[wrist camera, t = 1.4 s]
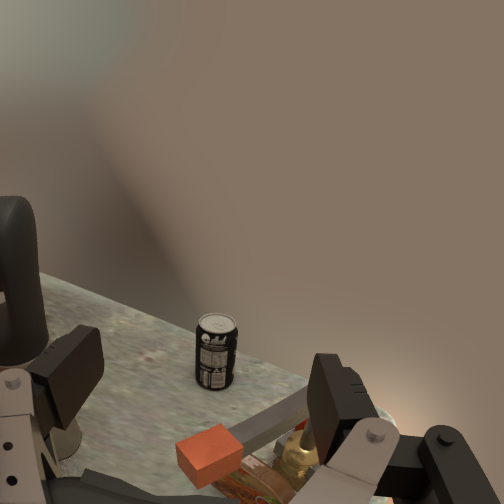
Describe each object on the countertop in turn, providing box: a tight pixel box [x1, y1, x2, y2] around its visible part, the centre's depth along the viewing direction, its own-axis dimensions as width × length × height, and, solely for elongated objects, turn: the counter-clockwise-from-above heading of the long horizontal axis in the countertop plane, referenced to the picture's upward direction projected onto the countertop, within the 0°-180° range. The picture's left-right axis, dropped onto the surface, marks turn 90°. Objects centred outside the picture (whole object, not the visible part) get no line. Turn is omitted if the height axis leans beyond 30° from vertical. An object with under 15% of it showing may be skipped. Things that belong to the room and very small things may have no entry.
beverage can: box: [195, 313, 238, 389], centre depth 50 cm, size 7×7×12 cm
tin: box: [211, 454, 296, 504], centre depth 29 cm, size 15×3×8 cm, turn 49°
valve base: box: [272, 417, 320, 492], centre depth 31 cm, size 7×5×15 cm
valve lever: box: [175, 385, 310, 489], centre depth 24 cm, size 18×3×3 cm, turn 130°
